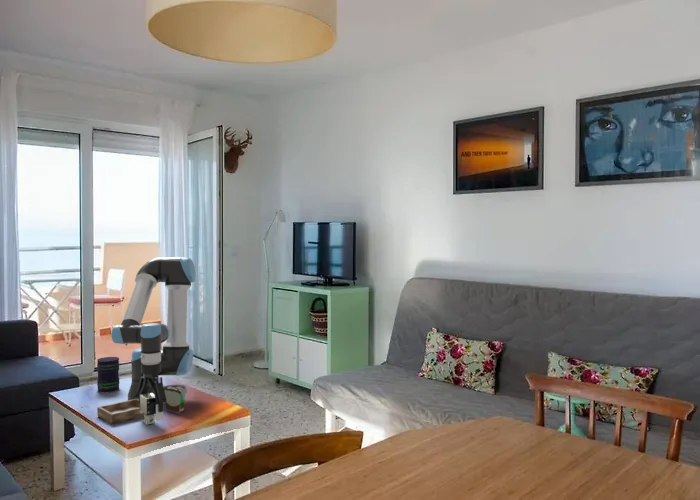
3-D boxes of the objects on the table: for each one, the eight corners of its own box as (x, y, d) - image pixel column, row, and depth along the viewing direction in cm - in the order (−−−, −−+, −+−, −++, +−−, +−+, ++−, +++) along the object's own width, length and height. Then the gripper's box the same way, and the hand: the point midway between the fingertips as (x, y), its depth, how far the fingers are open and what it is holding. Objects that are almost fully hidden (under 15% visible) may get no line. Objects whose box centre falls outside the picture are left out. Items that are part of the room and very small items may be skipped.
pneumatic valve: (148, 428, 219) (148, 397, 219) (138, 420, 228) (138, 391, 228) (162, 425, 223) (162, 395, 222) (152, 417, 232) (152, 388, 232)
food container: (193, 410, 242) (193, 387, 241) (181, 414, 237) (181, 390, 236) (174, 405, 249) (174, 382, 248) (162, 409, 244) (162, 385, 243)
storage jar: (115, 386, 280) (115, 355, 280) (122, 390, 273) (122, 359, 272) (94, 389, 274) (94, 358, 273) (100, 393, 266) (100, 362, 266)
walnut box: (137, 407, 245) (137, 398, 245) (152, 414, 236) (152, 405, 235) (97, 416, 233) (97, 407, 233) (111, 424, 223) (111, 414, 223)
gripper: (127, 359, 231) (128, 411, 231) (157, 369, 214) (157, 425, 214) (145, 356, 236) (145, 407, 237) (175, 366, 219) (175, 420, 219)
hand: (151, 416), depth 225 cm, fingers open, 13 cm apart
